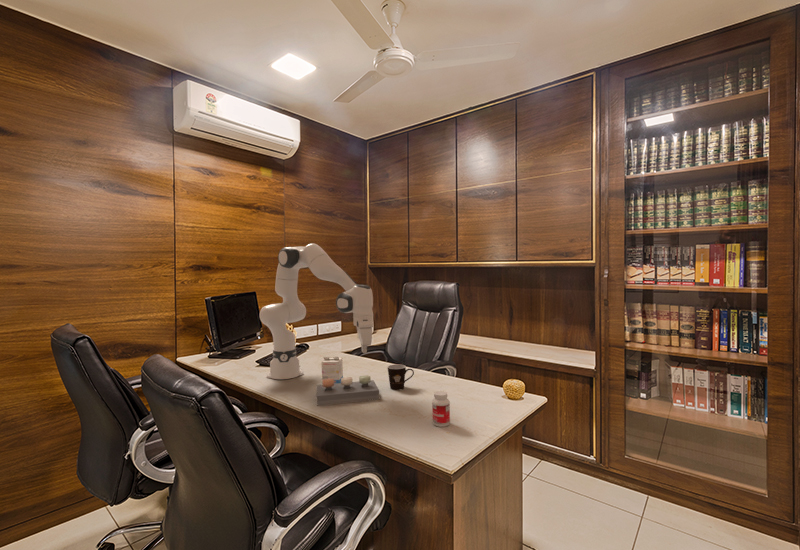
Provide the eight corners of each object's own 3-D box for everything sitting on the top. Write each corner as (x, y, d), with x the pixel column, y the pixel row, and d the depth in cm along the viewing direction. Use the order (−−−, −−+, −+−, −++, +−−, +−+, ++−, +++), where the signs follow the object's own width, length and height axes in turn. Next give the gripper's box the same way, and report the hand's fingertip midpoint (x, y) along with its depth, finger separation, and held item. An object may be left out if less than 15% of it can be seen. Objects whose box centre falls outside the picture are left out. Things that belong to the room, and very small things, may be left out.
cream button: (340, 387, 165) (340, 377, 165) (352, 386, 166) (351, 376, 166) (341, 390, 160) (341, 380, 160) (353, 389, 161) (353, 379, 161)
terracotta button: (322, 389, 163) (322, 379, 163) (334, 388, 164) (333, 378, 164) (322, 392, 158) (322, 382, 158) (334, 391, 159) (334, 381, 159)
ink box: (343, 380, 188) (342, 354, 187) (339, 385, 179) (338, 358, 179) (326, 380, 189) (326, 354, 188) (321, 385, 180) (321, 358, 180)
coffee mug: (384, 389, 171) (384, 368, 171) (392, 384, 179) (391, 363, 179) (408, 392, 167) (407, 370, 167) (414, 386, 175) (414, 365, 175)
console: (316, 394, 168) (316, 385, 167) (373, 388, 173) (373, 380, 173) (317, 405, 153) (316, 396, 153) (379, 399, 159) (379, 390, 159)
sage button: (358, 385, 167) (358, 375, 167) (369, 384, 168) (369, 375, 168) (360, 389, 162) (359, 379, 162) (371, 388, 163) (371, 378, 163)
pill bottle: (429, 424, 132) (428, 393, 132) (438, 418, 137) (438, 389, 137) (443, 428, 128) (443, 397, 128) (453, 423, 133) (452, 392, 133)
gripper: (353, 318, 174) (354, 347, 174) (359, 324, 154) (359, 357, 154) (367, 317, 175) (367, 346, 176) (374, 323, 155) (374, 356, 156)
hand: (364, 352), depth 165 cm, fingers closed
